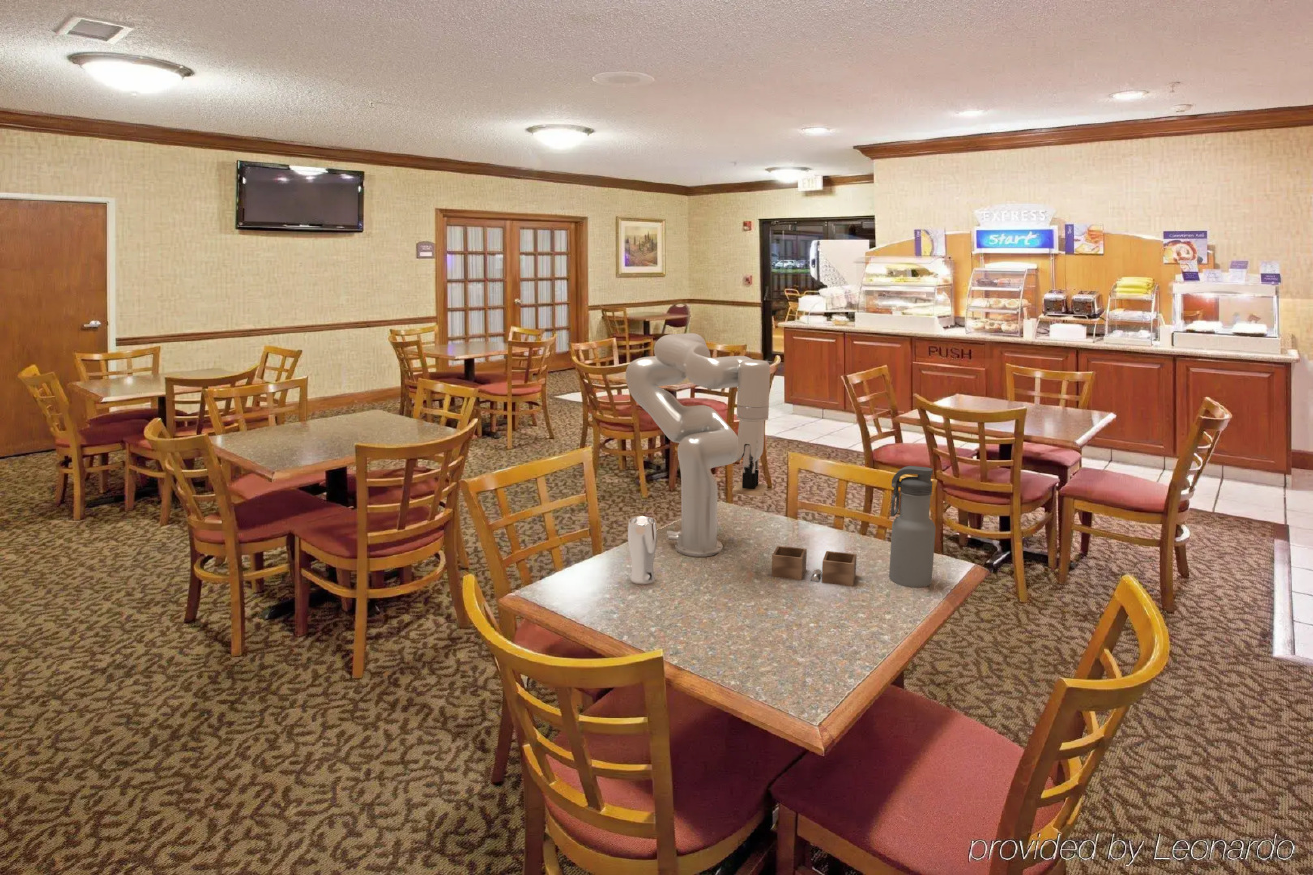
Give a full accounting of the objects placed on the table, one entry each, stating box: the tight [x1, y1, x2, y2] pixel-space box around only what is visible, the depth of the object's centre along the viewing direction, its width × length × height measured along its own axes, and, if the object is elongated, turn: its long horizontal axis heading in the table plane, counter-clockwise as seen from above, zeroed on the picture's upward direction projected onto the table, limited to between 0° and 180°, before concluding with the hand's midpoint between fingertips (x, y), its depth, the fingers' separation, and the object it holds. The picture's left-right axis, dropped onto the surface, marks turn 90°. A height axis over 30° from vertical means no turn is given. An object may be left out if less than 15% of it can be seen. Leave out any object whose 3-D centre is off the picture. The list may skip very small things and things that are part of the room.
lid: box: [731, 463, 768, 497], centre depth 193 cm, size 7×7×7 cm
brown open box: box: [771, 545, 808, 581], centre depth 195 cm, size 7×7×6 cm
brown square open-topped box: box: [821, 550, 858, 587], centre depth 191 cm, size 7×7×6 cm
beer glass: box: [627, 516, 658, 585], centre depth 191 cm, size 7×7×15 cm
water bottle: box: [888, 465, 936, 588], centre depth 188 cm, size 10×10×28 cm
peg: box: [809, 568, 822, 583], centre depth 192 cm, size 5×2×2 cm
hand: (750, 486), depth 193 cm, fingers closed on lid
